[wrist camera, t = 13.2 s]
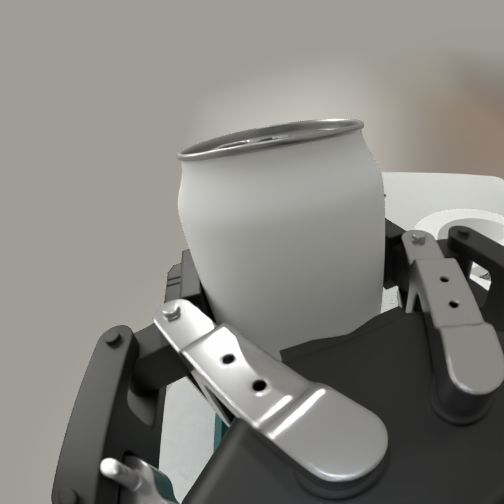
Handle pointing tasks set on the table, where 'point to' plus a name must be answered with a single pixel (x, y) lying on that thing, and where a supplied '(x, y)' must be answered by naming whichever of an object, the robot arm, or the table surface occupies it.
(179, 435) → the table surface
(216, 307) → the can
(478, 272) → the ring with crossbar
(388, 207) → the table surface
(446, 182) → the table surface
